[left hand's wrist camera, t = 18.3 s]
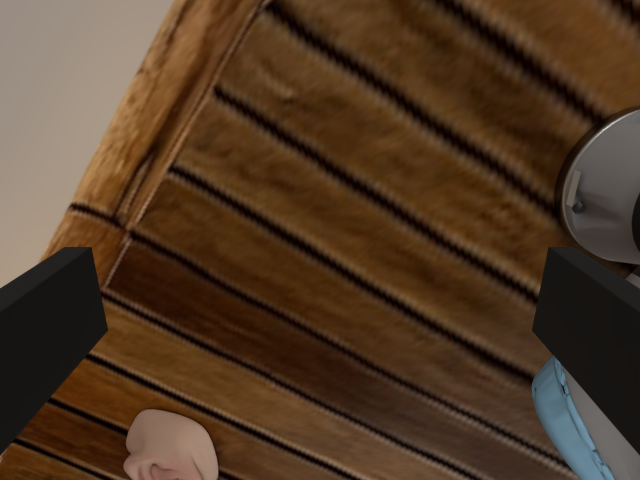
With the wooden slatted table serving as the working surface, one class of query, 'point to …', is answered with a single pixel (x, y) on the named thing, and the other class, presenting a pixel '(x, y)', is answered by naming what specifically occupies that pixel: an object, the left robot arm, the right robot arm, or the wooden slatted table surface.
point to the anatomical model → (169, 448)
